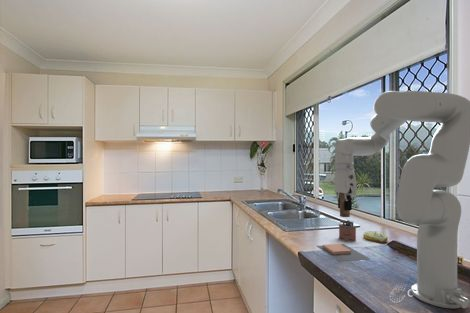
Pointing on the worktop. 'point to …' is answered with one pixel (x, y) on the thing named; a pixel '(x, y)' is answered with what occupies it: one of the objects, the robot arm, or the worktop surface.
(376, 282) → the worktop surface
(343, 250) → the tile
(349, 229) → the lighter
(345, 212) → the brown wooden block
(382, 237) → the decorated donut
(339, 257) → the mat
